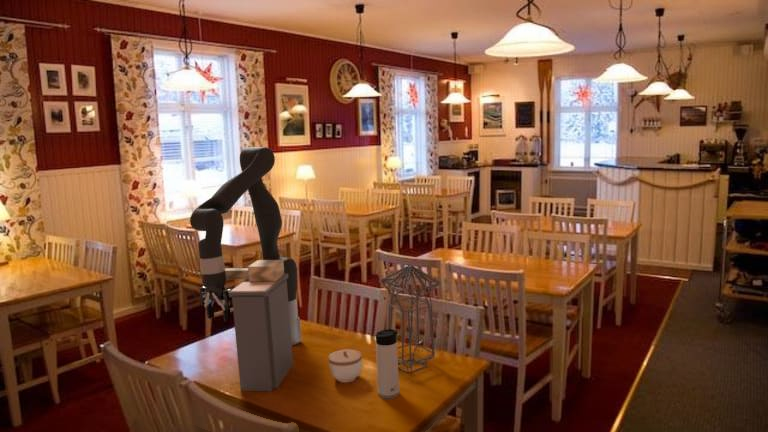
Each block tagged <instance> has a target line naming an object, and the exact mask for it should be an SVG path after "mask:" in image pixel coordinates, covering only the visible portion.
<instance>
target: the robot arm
mask: <svg viewBox="0 0 768 432" xmlns="http://www.w3.org/2000/svg"><path fill="white" fill-rule="evenodd" d="M275 160H276V157H275V155H274V152H273V150H271V148H269V147H267V146H265V147H264V146H251V147H245V148H243V149H242V150H241V151H240V154H239V166H240V169H241V172H240V173H238V174H236V175H235V176H233V177H232V178H230V179H228V180H227V181H226V182H225V183H223V184H222V185H221V186H220V187H219V188H218V189H217V191H216V192H215V193H214V194H213V195H212V197H210V198H209V199H207V200H205V201H204V202H203V203H202V204H200V205H199V206H198V207H196V208H195V209H194V210H193V211H192V213H191V214H190V218H189V224H190V226H191V228H192V229H193V230H195V231H197V232H205V236H204V238H202V239H200V240H199V241H198V253H199V254H198V255H199V268H200V275H201V284H202V285H201V287H199V298H200V305H201V306H204V307H205V310H206V316H207V319H209V320H211V319H213V318H215V312H214V306H213V305H214V302H215V303H217V305H219V306H220V307H221V309H222V315H223V321H224V322H229V321H231V320H232V314H231V309H233V301H232V297H229V292H230V291H231V290H232V289H233V288H228V289H226V287H225V285H226V283H227V280H228V279H226V272H225V268H226V264H225V260H224V259H225V258H224V255H223V248H222V238H223V231H224V224H225V223H224V217H223V215H224V214H226V213H228V212H229V211H230V210H231V209H232V208H233V206H234V205H235V204H236V203H237V202H238V200H239V199H240V198H241V197H242V196H243V195H244V194H245V193H246V192H248V194H249V197H250V201H251V202H250V203H251V205H252V211H253V215H254V219H255V224H256V227H257V231H258V236H259V240H260V247H261V254H262V260H283V263H284V273H288V278H287V291H288V304H289V317H290V330H291V343H292V346H296V345H297V344H299V343H302V342H303V339H302V328H301V317H299V316H298V315H299V313H298V303H297V294H298V293H297V292H298V284H299V283H298V282H299V281H298V267H297V263H296V261H295V260H294V259H293V258H291V257H284V256H280V252H279V247H278V239H279V236H280V233H281V231H282V230H281V229H282V226H283V220H282V216H281V210H280V206H279V203H278V202H277V201H276V199H275V197H274V196H273V195H272V194H271V192H270V191H269V190H268V189H267V187H266V185H265V184H264V181H263V178H264V176H266V175H267V174H268V173H269V172H270V171H272V169H273V168H274V166H275V162H276V161H275Z"/></svg>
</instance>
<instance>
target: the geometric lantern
mask: <svg viewBox="0 0 768 432" xmlns="http://www.w3.org/2000/svg"><path fill="white" fill-rule="evenodd" d="M398 273H399V274H398ZM397 274H398V275H397ZM395 275H397V276H396V277H395V278H392V276H395ZM411 277H412V280H413V281H412V282H413V284H414V288H410V287H409V286H410V280H411ZM415 277H416V278H415ZM415 279H417V280H418V282H419V283H420V285H421V286H422V287H421V288H418V286H417V283H416V282H417V281H416V280H415ZM423 280H424V281H423ZM390 281H391V282H390ZM400 281H401V285H398V283H399V282H400ZM380 282H381V284H383V286H384V288H385V289H386V290H387V293H388V296H391V297H390V302H389V303H388V323H387V329H392V323H393V308H394V309H396V310H399V311H400V312H402V323H401V324H402V331H401V332H402V334H401V335H402V336H401V346H397V350H398V349H400V348H401V356H399V357H398V365H402V366H404V367H405V368H406V370H405V369H403V368H401V367H399V366H398V370H401V371H403V372H405V373H406V374H409V373H413V372H417V371H419V370H421V369H424V368H426V367H427V362H428V361H430V360H431V359H434V358H435V337H434V319H433V318H434V315H433V304H432V297H431V292H432V291H433V290H434V289H436V288H437V287H438V286H439V285H440V284H441V281H440V280H437V279H436V278H434V277H432V275H429V274H428V273H426V272H424V271H423V270H421V269H419V268H418V267H416V266H414V265H413V264H407V265H406V266H404V267H402V268H400V269H398V270H395V271H394V272H392V273H390V274H389V275H386V276H385V277H383V278H381V279H379V281H378V283H380ZM427 282H428V283H429V286H427V285H426V284H427ZM407 283H408V284H407ZM432 283H434V284H432ZM406 284H407V286H406ZM390 287H391V290H390ZM405 289H406V290H405ZM396 290H397V291H398V292H397V293H395V291H396ZM426 290H427V292H426ZM413 291H415V292H416V293H415V292H413ZM422 291H423V294H422V295H420V294H421V293H422ZM403 292H405V293H409V294H410V296H411V297H406V298H402V299H398V298H397V296H398V295H399V294H401V293H403ZM428 294H429V301H428V298H427V295H428ZM421 298H425V300H423V299H421ZM393 299H395V300H393ZM409 299H411V300H410V302H411V304H410V306H409V308H408V309H407V310H405V309H403V307H402V305H401V303H400V302H401V301H406V300H409ZM418 301H420V302H422V303H425V304H426V305H427V306H425V307H420V308H419V302H418ZM429 302H430V303H429ZM394 303H397V304H398V307H399V308H398V307H396V306H395V305H394ZM415 303H416V309H413V308H414V304H415ZM425 309H428V317H429V329H430V332H429V333H430V342H431V343H430V344H431V350H430V349H429V348H427V347H425V346H423V345H421V344H420V331H419V329H420V328H419V326H420V325H419V323H420V321H419V311H420V310H425ZM415 311H416V329H417V330H416V333H417V334H416V335H417V343H413V342H412V341H413V340H412V338H413V313H414V312H415ZM405 313H407V326H408V343H405ZM412 346H415V348H414V349H413V353H412ZM405 347H408V348H409V353H406V354H404V353H405V352H404V350H405V349H404V348H405ZM418 347H420V348H422V349H424V350H425V351H427V352H429V353H431V354H430V355H429V356H428V357H425V358H424V357H422V356H419V355H418V354H415V352H416V351H417V349H418ZM407 356H409V359H405V360H404V357H407ZM414 357H417V358H419V359H418V360H417V359H415V358H414ZM406 364H407V365H406ZM408 364H409V366H408ZM412 364H413V365H412ZM421 364H422V365H424V366H421V367H419V368H415V369H413V367H416V366H419V365H421ZM409 368H410V370H409Z"/></svg>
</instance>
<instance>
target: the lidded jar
mask: <svg viewBox="0 0 768 432" xmlns="http://www.w3.org/2000/svg"><path fill="white" fill-rule="evenodd" d="M328 364H329V365H328V366H329V370H330V373H331V375H332V376H333V377H334V378H335V379H336V380H337V381H338V382H340V383H350V382H354V381H355V380H356V379H357V377H358V376H359V375H360V373H361V371H362V368H363V367H362V366H363V365H362V364H363V355H362V352H361V351H359V350H356V349H340V350H336V351H334V352H331V353H330V354H329V355H328Z"/></svg>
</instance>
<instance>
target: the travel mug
mask: <svg viewBox="0 0 768 432" xmlns="http://www.w3.org/2000/svg"><path fill="white" fill-rule="evenodd" d="M398 333H399V331H398V330H396V329H393V328H391V329H388V328H387V329H381V330H380V331H378V332H377V333H376V334H375V352H376V355H375V356H376V370H377V373H376V375H377V391H378V393H377V394H378V396H379V397H380V398H382V399H385V400H391V399H395V398H397V397H398V396H399V395H400V381H399V380H400V379H399V368H398V367H399V364H398V358H399V357H398V356H399V355H398V349H397V347H398V343H397V341H398V340H397V335H398Z"/></svg>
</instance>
